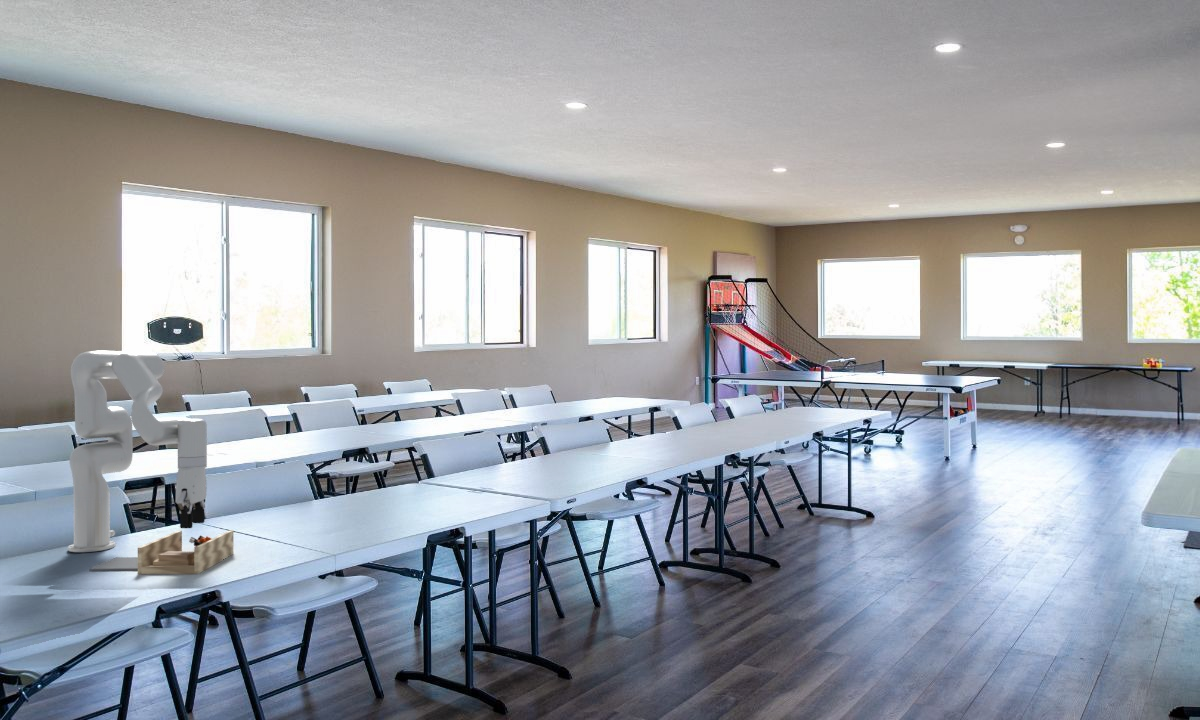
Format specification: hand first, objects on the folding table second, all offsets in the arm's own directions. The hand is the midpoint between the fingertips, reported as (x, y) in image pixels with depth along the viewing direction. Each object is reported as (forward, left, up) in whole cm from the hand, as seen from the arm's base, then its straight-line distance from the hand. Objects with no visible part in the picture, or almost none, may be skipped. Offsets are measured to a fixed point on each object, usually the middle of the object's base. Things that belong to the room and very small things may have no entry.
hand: (192, 524), depth 255 cm
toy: (-1, +2, -7) cm, 8 cm away
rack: (+3, 0, -10) cm, 11 cm away
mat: (+4, -16, -10) cm, 19 cm away
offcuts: (+10, 0, -10) cm, 15 cm away
